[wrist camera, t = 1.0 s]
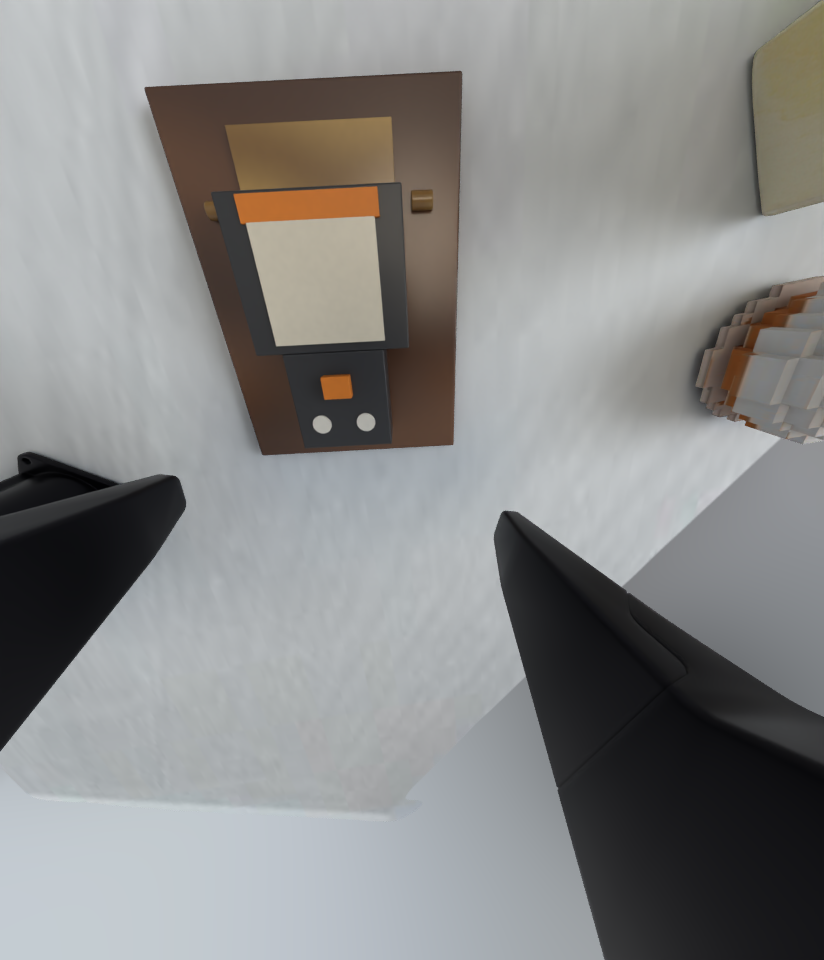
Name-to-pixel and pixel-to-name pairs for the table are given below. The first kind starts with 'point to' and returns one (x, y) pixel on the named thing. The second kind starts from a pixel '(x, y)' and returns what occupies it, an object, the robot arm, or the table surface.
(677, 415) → the table surface
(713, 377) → the decorative ornament
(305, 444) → the penguin
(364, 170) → the stand
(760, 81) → the toy refrigerator
